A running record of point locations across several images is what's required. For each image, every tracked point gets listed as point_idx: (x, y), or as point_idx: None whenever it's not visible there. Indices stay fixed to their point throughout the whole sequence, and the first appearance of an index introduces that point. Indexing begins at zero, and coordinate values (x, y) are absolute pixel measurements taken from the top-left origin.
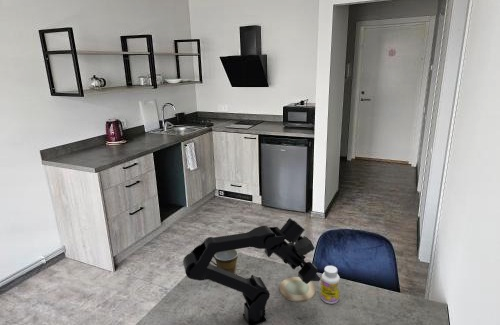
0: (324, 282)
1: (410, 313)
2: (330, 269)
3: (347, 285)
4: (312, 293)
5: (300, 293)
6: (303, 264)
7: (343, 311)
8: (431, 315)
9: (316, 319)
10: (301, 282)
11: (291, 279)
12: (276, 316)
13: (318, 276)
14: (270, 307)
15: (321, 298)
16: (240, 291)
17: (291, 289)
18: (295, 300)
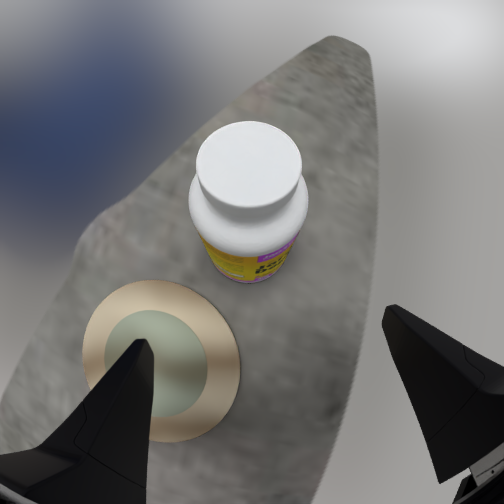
0: (274, 252)
1: (351, 77)
2: (252, 163)
3: (191, 150)
4: (211, 313)
5: (200, 371)
6: (145, 395)
7: (332, 226)
8: (356, 56)
9: (355, 347)
10: (124, 332)
11: (95, 364)
12: (299, 483)
13: (435, 329)
14: (243, 493)
15: (244, 282)
16: None
17: (163, 399)
18: (232, 403)
